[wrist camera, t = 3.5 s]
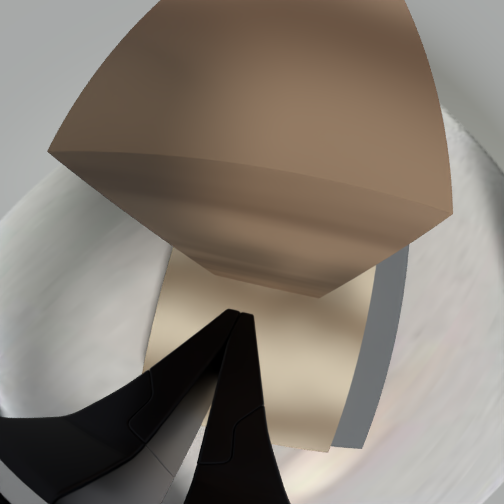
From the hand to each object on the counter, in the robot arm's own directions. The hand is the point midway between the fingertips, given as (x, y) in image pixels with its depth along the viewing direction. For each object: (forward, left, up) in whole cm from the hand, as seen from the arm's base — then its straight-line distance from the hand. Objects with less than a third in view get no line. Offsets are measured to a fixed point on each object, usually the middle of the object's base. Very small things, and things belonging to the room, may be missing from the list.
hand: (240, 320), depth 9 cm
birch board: (+1, 0, -9) cm, 9 cm away
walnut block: (+5, +3, -7) cm, 9 cm away
